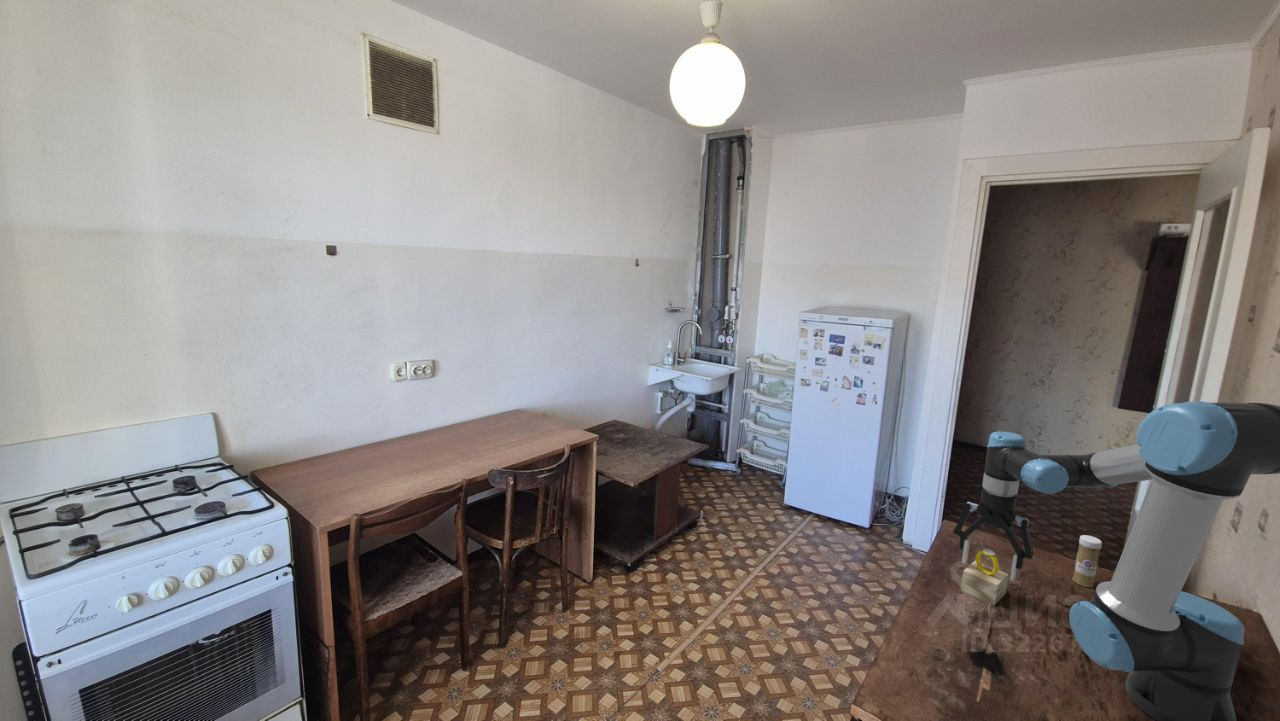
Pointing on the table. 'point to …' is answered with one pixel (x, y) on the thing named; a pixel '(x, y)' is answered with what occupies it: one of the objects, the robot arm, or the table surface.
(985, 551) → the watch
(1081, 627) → the robot arm
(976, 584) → the maple block
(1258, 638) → the table surface
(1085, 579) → the sprinkles bottle
